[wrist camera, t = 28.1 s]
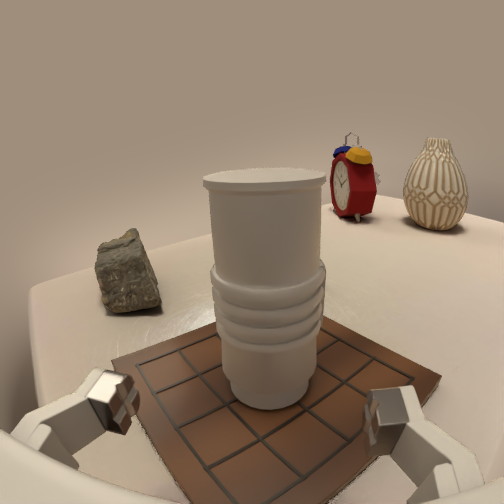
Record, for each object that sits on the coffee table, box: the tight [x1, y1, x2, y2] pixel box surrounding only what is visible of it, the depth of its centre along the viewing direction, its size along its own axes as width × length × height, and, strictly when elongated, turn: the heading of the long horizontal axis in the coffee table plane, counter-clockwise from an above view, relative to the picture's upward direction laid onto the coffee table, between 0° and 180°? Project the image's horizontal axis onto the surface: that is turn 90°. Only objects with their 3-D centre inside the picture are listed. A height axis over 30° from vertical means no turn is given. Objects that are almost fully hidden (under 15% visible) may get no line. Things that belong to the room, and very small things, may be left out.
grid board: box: [111, 316, 442, 504], centre depth 22 cm, size 20×20×1 cm
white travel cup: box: [203, 168, 326, 410], centre depth 19 cm, size 7×7×15 cm
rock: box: [94, 228, 161, 312], centre depth 39 cm, size 17×7×10 cm
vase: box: [403, 137, 468, 230], centre depth 59 cm, size 16×16×20 cm
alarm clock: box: [330, 132, 380, 222], centre depth 67 cm, size 15×9×20 cm, turn 4°
